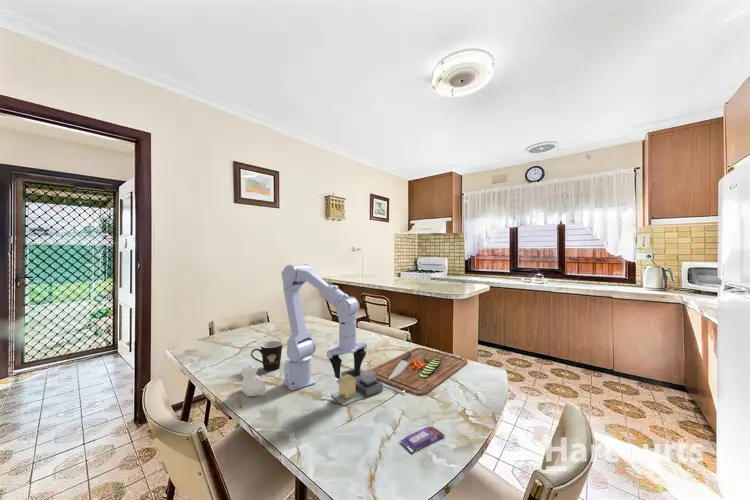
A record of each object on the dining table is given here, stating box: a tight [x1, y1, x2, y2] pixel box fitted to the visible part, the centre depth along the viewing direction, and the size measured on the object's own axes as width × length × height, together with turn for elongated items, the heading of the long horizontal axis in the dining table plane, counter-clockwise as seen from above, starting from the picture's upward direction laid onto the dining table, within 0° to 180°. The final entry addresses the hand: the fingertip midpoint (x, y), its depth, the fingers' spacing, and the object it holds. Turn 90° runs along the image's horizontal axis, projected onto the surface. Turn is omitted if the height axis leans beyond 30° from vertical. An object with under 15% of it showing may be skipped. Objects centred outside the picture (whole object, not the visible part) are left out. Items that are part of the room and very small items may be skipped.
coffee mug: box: [250, 340, 283, 372], centre depth 118 cm, size 12×9×10 cm
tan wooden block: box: [338, 374, 357, 400], centre depth 94 cm, size 4×4×6 cm
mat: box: [330, 390, 365, 407], centre depth 94 cm, size 8×8×1 cm
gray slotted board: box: [340, 368, 384, 398], centre depth 103 cm, size 7×17×2 cm, turn 37°
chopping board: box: [370, 347, 468, 396], centre depth 118 cm, size 45×27×3 cm, turn 139°
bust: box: [240, 364, 267, 398], centre depth 96 cm, size 12×8×11 cm
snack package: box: [399, 425, 446, 452], centre depth 73 cm, size 12×2×5 cm
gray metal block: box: [360, 368, 376, 387], centre depth 99 cm, size 4×4×6 cm
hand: (347, 374), depth 94 cm, fingers open, 7 cm apart
